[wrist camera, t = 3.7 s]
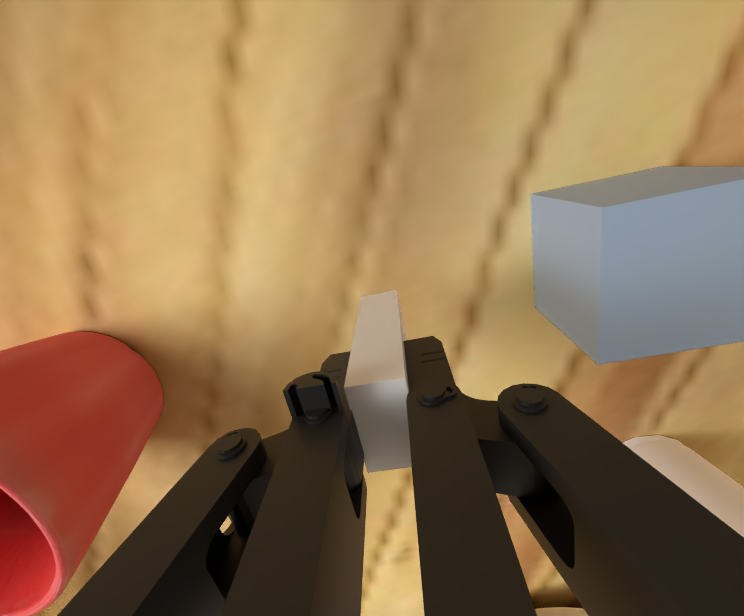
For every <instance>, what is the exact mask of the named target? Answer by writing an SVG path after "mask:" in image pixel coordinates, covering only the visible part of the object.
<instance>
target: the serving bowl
mask: <svg viewBox="0 0 744 616" xmlns="http://www.w3.org/2000/svg"><path fill="white" fill-rule="evenodd" d="M535 611H536V614H537V616H588V614H587V613H586V611H585V610H584V609H583V608H572V607H550V608H538V609H535Z"/></svg>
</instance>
